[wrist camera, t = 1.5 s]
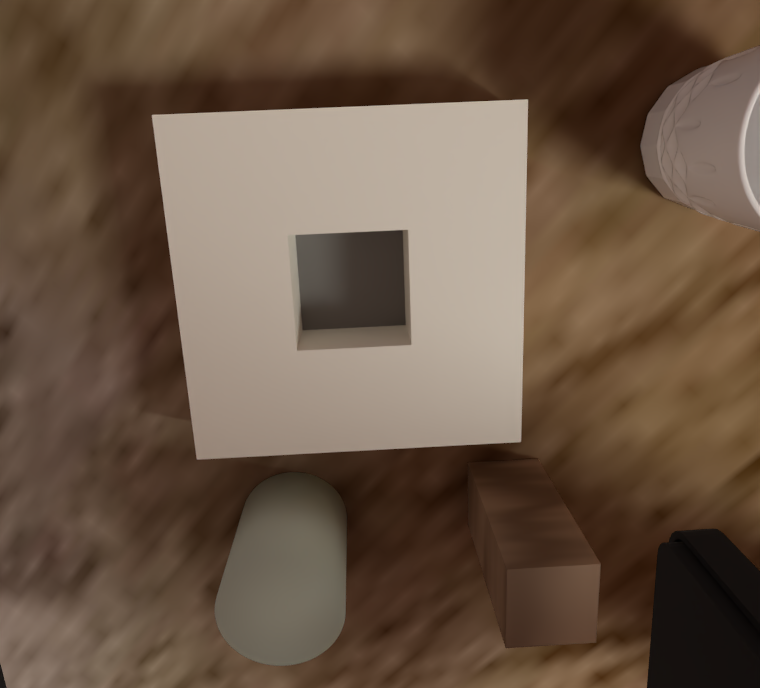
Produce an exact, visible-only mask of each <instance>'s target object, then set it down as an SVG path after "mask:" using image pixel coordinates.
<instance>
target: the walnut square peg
mask: <svg viewBox="0 0 760 688" xmlns="http://www.w3.org/2000/svg"><path fill="white" fill-rule="evenodd" d="M468 526H469V529H470V533H471V536H472V539H473V542H474V546H475V549H476V552H477V555H478V559H479V562H480V565H481V569H482V572H483V575H484V578H485V582H486V585H487V588H488V591H489V595H490V598H491V601H492V605H493V608H494V611H495V614H496V618H497V621H498V624H499V627H500V631H501V634H502V637H503V641H504V644H505V647H506V648H516V647H532V646H548V645H564V644H580V643H596V635H597V618H598V602H599V585H600V569H601V563H600V562H599V560H598V558H597V557H596V555H595V553H594V552H593V550H592V548H591V547H590V545H589V543H588V542H587V540H586V538H585V537H584V535H583V533H582V532H581V530H580V528H579V527H578V525H577V523H576V522H575V520H574V518H573V517H572V515H571V513H570V511H569V510H568V508H567V506H566V505H565V503H564V501H563V500H562V498H561V496H560V495H559V493H558V491H557V490H556V488H555V486H554V485H553V483H552V481H551V480H550V478H549V476H548V475H547V473H546V471H545V470H544V468H543V466H542V464H541V463H540V461H539V459H522V460H504V461H486V462H468Z"/></svg>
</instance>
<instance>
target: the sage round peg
mask: <svg viewBox="0 0 760 688" xmlns="http://www.w3.org/2000/svg"><path fill="white" fill-rule="evenodd" d="M346 557H347V512H346V508H345V504H344V502H343V500H342V498H341V496H340V495H339V493H338V492H337V491H336V490H335V489H334V488H333V487H332V486H331V485H330V484H329V483H327V482H326V481H324V480H323V479H321V478H319V477H316V476H314V475H311V474H307V473H301V472H288V473H281V474H277V475H275V476H272V477H270V478H268V479H266V480H264V481H263V482H261V483H260V484H259V485H257V486H256V487H255V488H254V489H253V491H252V492H251V493H250V495H249V496H248V498H247V500H246V502H245V505H244V508H243V511H242V514H241V518H240V521H239V524H238V528H237V531H236V534H235V537H234V541H233V544H232V547H231V551H230V554H229V557H228V561H227V564H226V567H225V570H224V574H223V577H222V580H221V584H220V587H219V590H218V593H217V597H216V601H215V619H216V623H217V626H218V629H219V631H220V633H221V635H222V636H223V638H224V639H225V640H226V642H227V643H228V644H229V645H230V646H231V647H232V648H233V649H234V650H236V651H237V652H238V653H239V654H241V655H243V656H244V657H246V658H248V659H251V660H253V661H256V662H259V663H262V664H267V665H275V666H287V665H295V664H299V663H303V662H306V661H309V660H311V659H313V658H315V657H317V656H319V655H320V654H322V653H323V652H325V651H326V650H327V649H328V648H329V647H330V646H331V645H332V644H333V643H334V642H335V641H336V639H337V638H338V636H339V635H340V633H341V631H342V628H343V625H344V622H345V616H346Z"/></svg>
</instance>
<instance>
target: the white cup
mask: <svg viewBox="0 0 760 688" xmlns="http://www.w3.org/2000/svg"><path fill="white" fill-rule="evenodd" d="M640 148H641V153H642V158H643V163H644V168H645V173H646V176H647V177H648V179H649V180H650V181H651V182H652V184H653V185H654V186H655V187H656V189H657V190H658V191H659V192H660V194H661V195H662V196H663V197H664V198H665V199H668V200H670V201H673V202H675V203H678V204H680V205H683V206H685V207H688V208H690V209H693V210H696V211H698V212H699V213H701V214H704V215H707V216H710V217H714V218H716V219H719V220H722V221H726V222H729V223H732V224H734V225H737V226H741V227H744V228H748V229H752V230H755V231H759V232H760V45H758V46H755V47H753V48H750V49H747V50H745V51H742V52H740V53H737V54H734V55H731V56H729V57H726V58H724V59H722V60H719V61H717V62H715V63H713V64H711V65H708V66H705V67H702V68H699V69H696V70H694V71H693V72H691V73H689V74H688V75H686V76H684V77H683V78H681V79H679V80H678V81H676V82H674V83H673V84H671V85H669V86H668V87H667V88H666V89H665V91H664V92H663V93H662V95H661V96H660V98H659V99H658V100H657V102H656V103H655V105H654V106H653V107H652V109H651V110H650V111H649V113H648V115H647V119H646V123H645V127H644V131H643V136H642V140H641V144H640Z"/></svg>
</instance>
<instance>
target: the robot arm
mask: <svg viewBox="0 0 760 688" xmlns="http://www.w3.org/2000/svg"><path fill="white" fill-rule="evenodd" d="M0 688H6V684H5V680H4V676H3V672H2V669H1V665H0ZM647 688H760V571H759V570H758V569H757V568H756V567H755V566H754V565H753V564H752V563H751V562H750V561H749V560H748V559H747V558H746V557H745V556H744V554H743V553H742V552H741V551H740V550H739V549H738V548H737V547H736V546H735V545H734V544H733V543H732V542H731V541H730V540H729V539H728V538H727V537H726V536H725V535H724V534H723V533H722V532H721V531H719V530H718V529H701V530H686V531H675V532H674V533H672V535H671V537H670V539H669V542H668V543H662V544H660V546H659V548H658V555H657V568H656V580H655V593H654V606H653V618H652V631H651V644H650V657H649V669H648V682H647Z"/></svg>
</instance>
